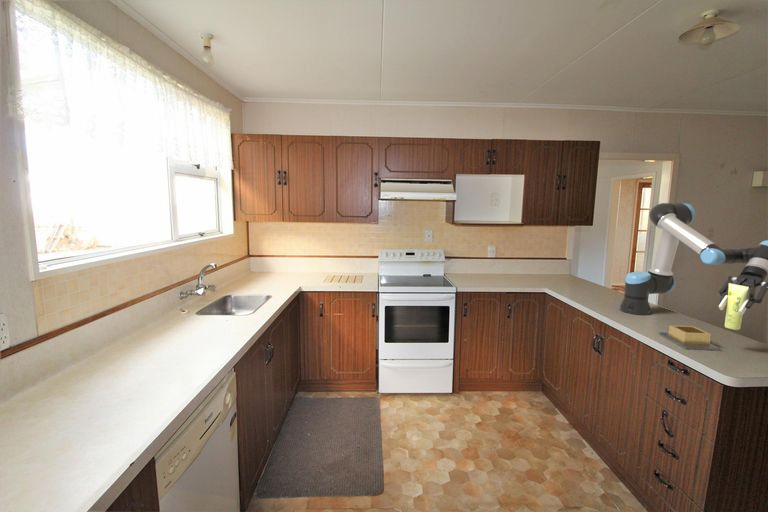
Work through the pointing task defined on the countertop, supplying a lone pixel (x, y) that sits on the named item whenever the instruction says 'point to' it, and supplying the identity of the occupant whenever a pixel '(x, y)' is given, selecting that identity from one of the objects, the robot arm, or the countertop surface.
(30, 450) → the countertop surface
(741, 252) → the robot arm
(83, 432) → the countertop surface
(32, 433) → the countertop surface
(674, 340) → the collar plate
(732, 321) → the tube
